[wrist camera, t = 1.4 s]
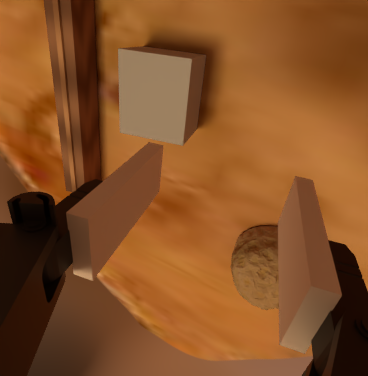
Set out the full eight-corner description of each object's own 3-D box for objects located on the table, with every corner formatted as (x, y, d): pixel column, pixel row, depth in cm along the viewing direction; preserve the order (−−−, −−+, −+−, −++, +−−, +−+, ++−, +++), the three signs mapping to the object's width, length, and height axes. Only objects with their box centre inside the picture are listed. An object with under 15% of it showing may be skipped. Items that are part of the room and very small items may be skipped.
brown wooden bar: (61, -100, 26) (26, -122, 22) (89, -98, 25) (59, -120, 22) (83, 177, 41) (64, 191, 38) (101, 182, 41) (84, 196, 37)
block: (144, 46, 30) (118, 48, 25) (206, 54, 29) (191, 58, 24) (142, 118, 34) (119, 132, 29) (197, 128, 33) (182, 145, 28)
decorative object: (239, 213, 41) (200, 268, 37) (296, 213, 32) (254, 285, 28) (272, 253, 43) (240, 308, 39) (334, 263, 35) (300, 335, 31)
